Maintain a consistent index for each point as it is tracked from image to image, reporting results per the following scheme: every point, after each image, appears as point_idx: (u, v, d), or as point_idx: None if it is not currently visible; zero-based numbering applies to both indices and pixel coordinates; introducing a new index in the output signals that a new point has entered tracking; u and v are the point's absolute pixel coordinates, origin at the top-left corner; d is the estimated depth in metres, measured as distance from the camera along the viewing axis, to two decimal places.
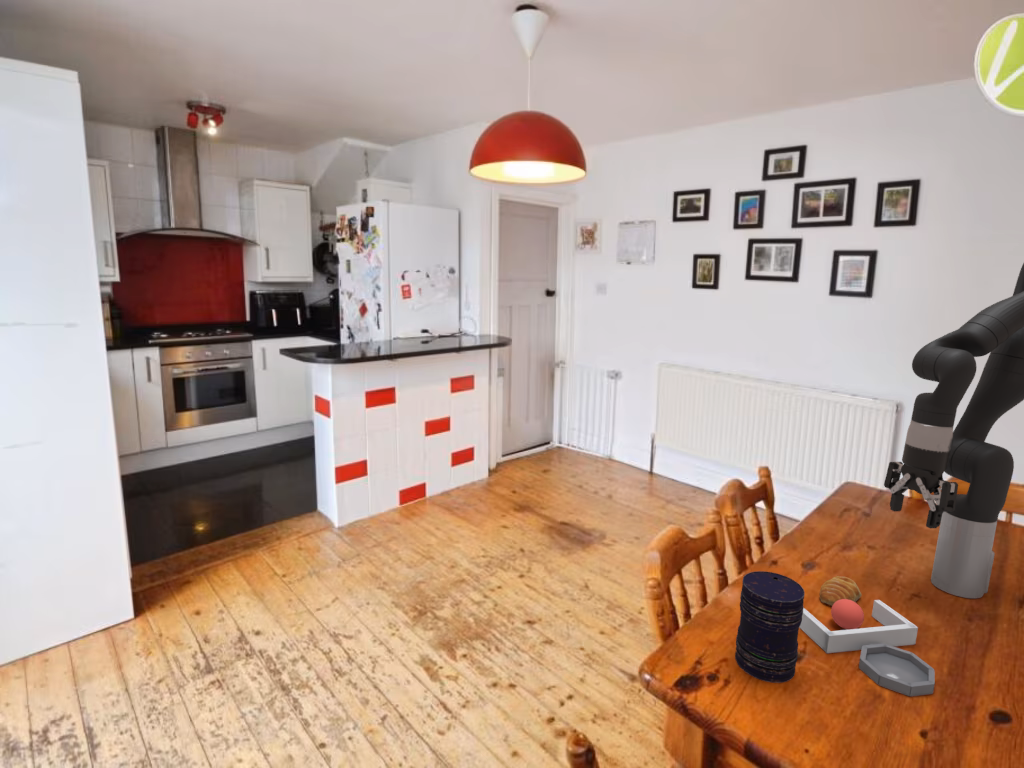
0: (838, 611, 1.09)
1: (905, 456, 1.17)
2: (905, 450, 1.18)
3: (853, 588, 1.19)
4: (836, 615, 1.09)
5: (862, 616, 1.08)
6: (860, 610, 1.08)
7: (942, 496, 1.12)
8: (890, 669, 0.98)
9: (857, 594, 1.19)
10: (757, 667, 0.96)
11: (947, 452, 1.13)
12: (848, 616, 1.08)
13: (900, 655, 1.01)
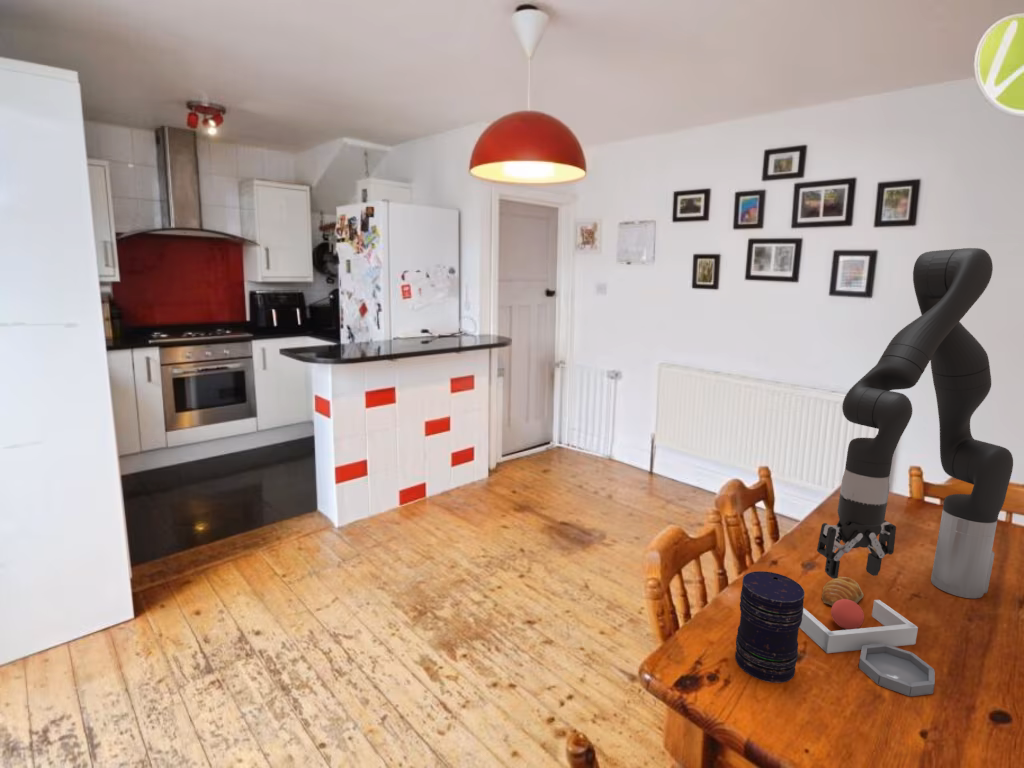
0: (838, 611, 1.09)
1: (870, 517, 1.03)
2: (868, 511, 1.02)
3: (855, 589, 1.19)
4: (836, 615, 1.09)
5: (862, 616, 1.08)
6: (860, 610, 1.08)
7: (891, 540, 1.07)
8: (890, 669, 0.98)
9: (859, 595, 1.19)
10: (757, 667, 0.96)
11: None
12: (848, 616, 1.08)
13: (900, 655, 1.01)
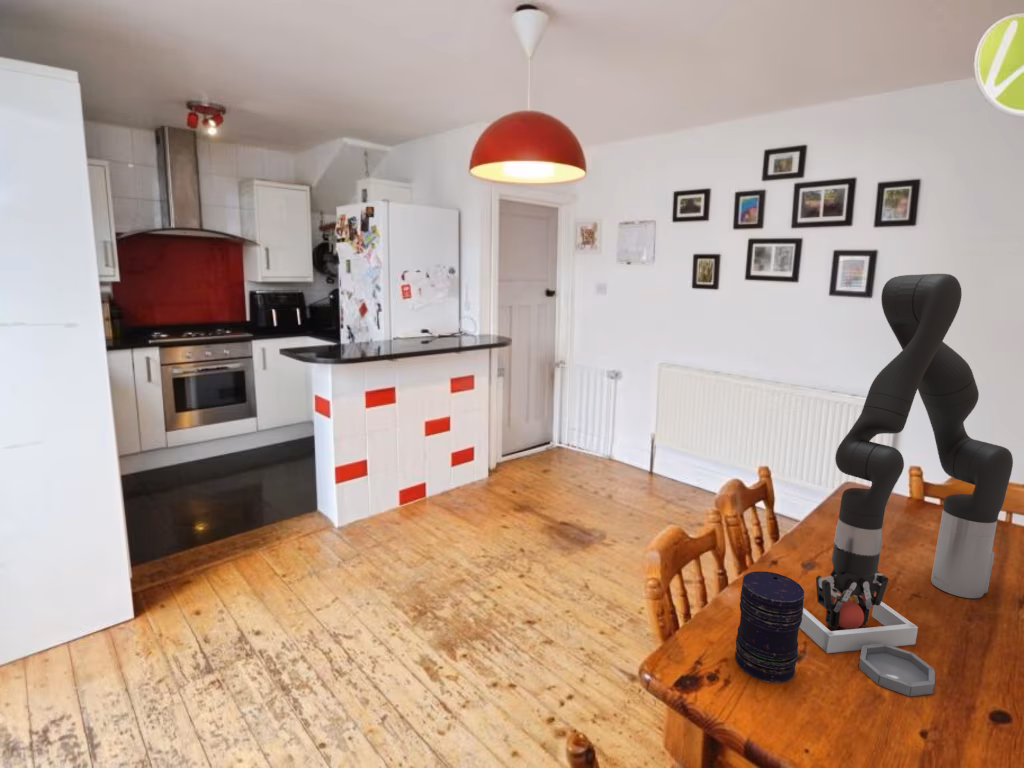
0: (839, 611, 1.09)
1: (863, 568, 1.04)
2: (861, 562, 1.04)
3: None
4: None
5: (862, 616, 1.08)
6: (860, 610, 1.08)
7: (881, 591, 1.09)
8: (890, 669, 0.98)
9: None
10: (757, 667, 0.96)
11: None
12: (848, 616, 1.08)
13: (900, 655, 1.01)
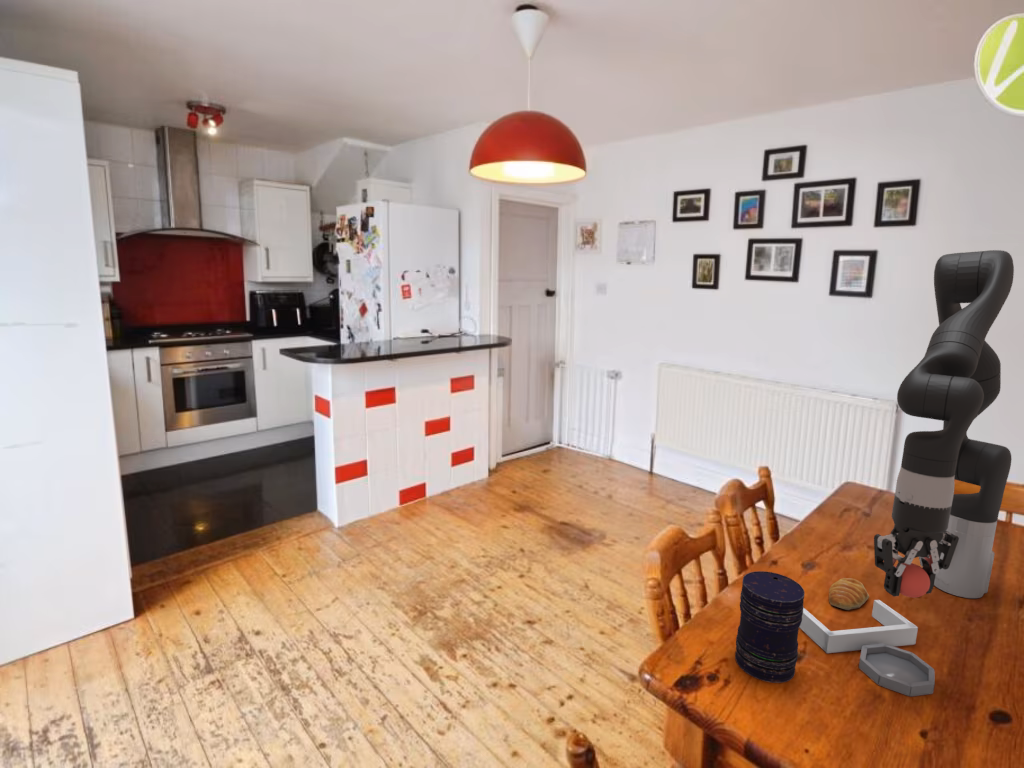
0: None
1: (932, 523, 0.89)
2: (930, 516, 0.89)
3: (861, 590, 1.19)
4: None
5: (928, 581, 0.93)
6: (926, 574, 0.93)
7: (950, 552, 0.93)
8: (890, 669, 0.98)
9: (866, 596, 1.18)
10: (757, 667, 0.96)
11: None
12: (912, 581, 0.92)
13: (900, 655, 1.01)
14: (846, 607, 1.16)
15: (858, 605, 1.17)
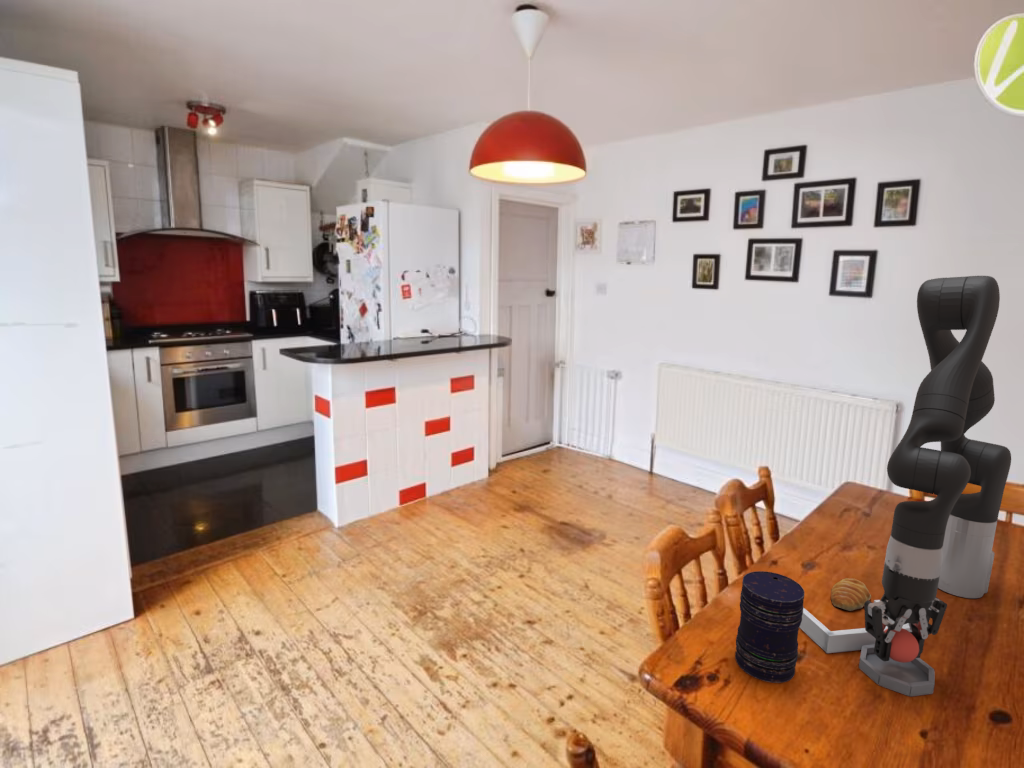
0: None
1: (921, 593, 0.91)
2: (919, 586, 0.91)
3: (864, 590, 1.18)
4: None
5: (917, 647, 0.95)
6: (915, 640, 0.95)
7: (938, 618, 0.96)
8: (890, 669, 0.98)
9: (868, 596, 1.18)
10: (757, 667, 0.96)
11: None
12: (901, 648, 0.94)
13: None
14: (849, 607, 1.15)
15: (861, 606, 1.16)
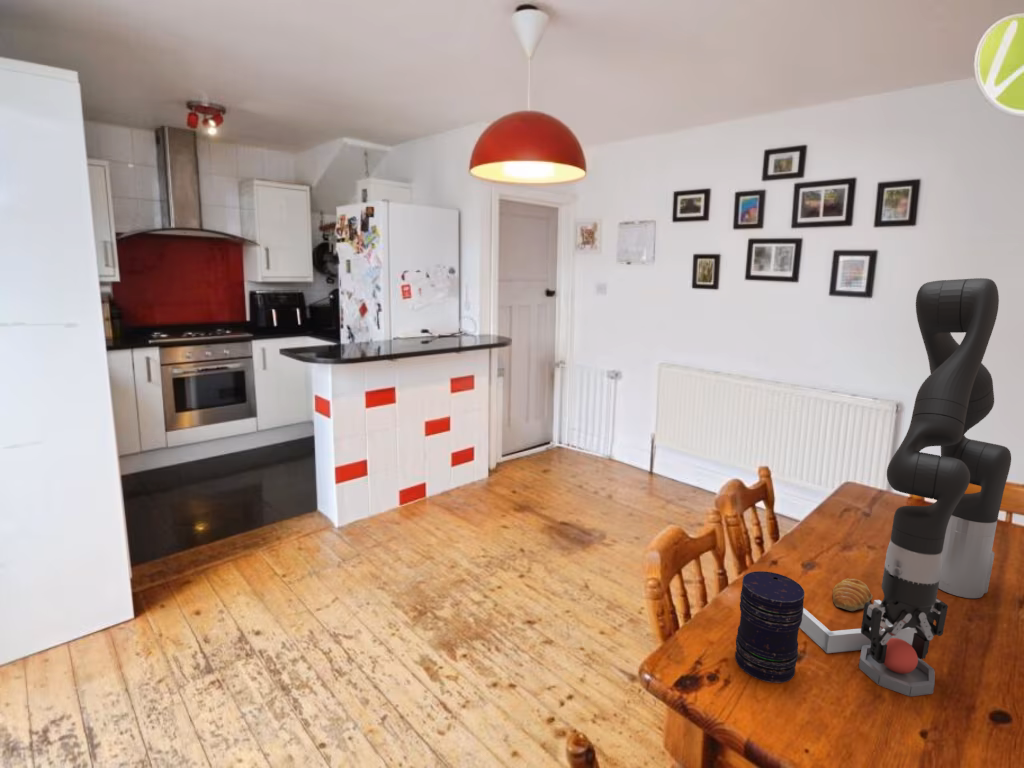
0: (889, 653, 0.96)
1: (921, 598, 0.91)
2: (918, 591, 0.91)
3: (865, 590, 1.18)
4: (885, 657, 0.97)
5: (916, 659, 0.95)
6: (914, 652, 0.95)
7: (941, 620, 0.96)
8: None
9: (869, 596, 1.18)
10: (757, 667, 0.96)
11: None
12: (900, 659, 0.95)
13: None
14: (851, 608, 1.15)
15: (862, 606, 1.16)
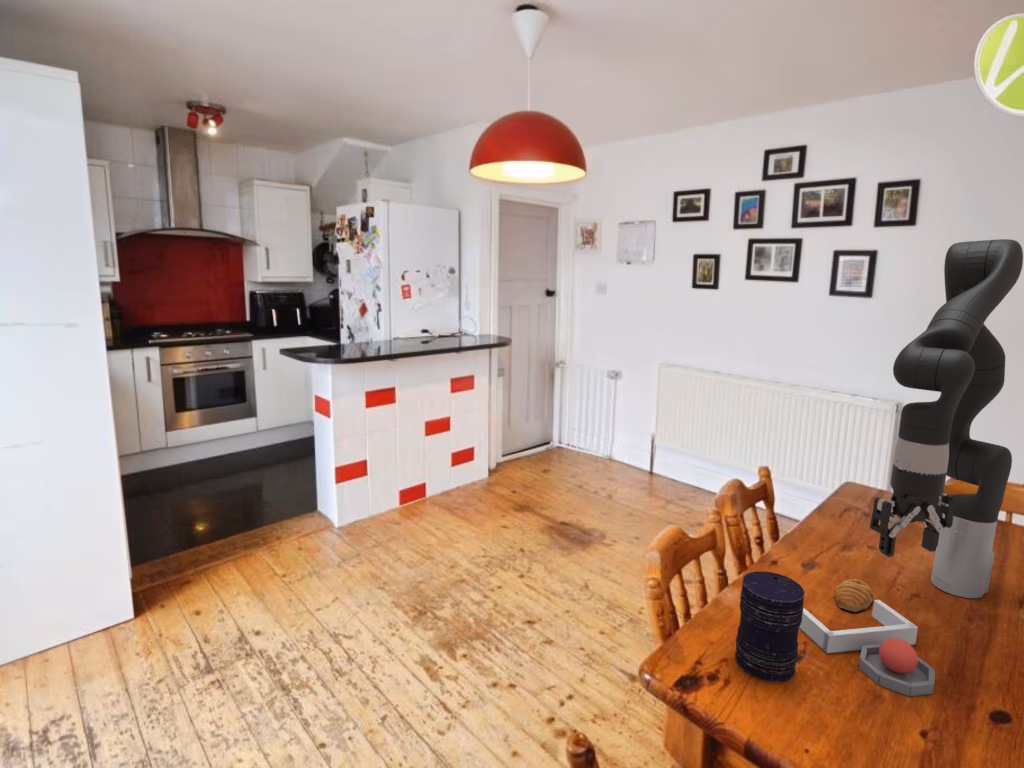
0: (889, 653, 0.96)
1: (929, 489, 0.94)
2: (927, 482, 0.94)
3: (867, 591, 1.18)
4: (885, 657, 0.97)
5: (916, 659, 0.95)
6: (913, 652, 0.95)
7: (950, 512, 0.98)
8: None
9: (872, 597, 1.18)
10: (757, 667, 0.96)
11: None
12: (900, 659, 0.95)
13: None
14: (854, 609, 1.15)
15: (865, 606, 1.16)
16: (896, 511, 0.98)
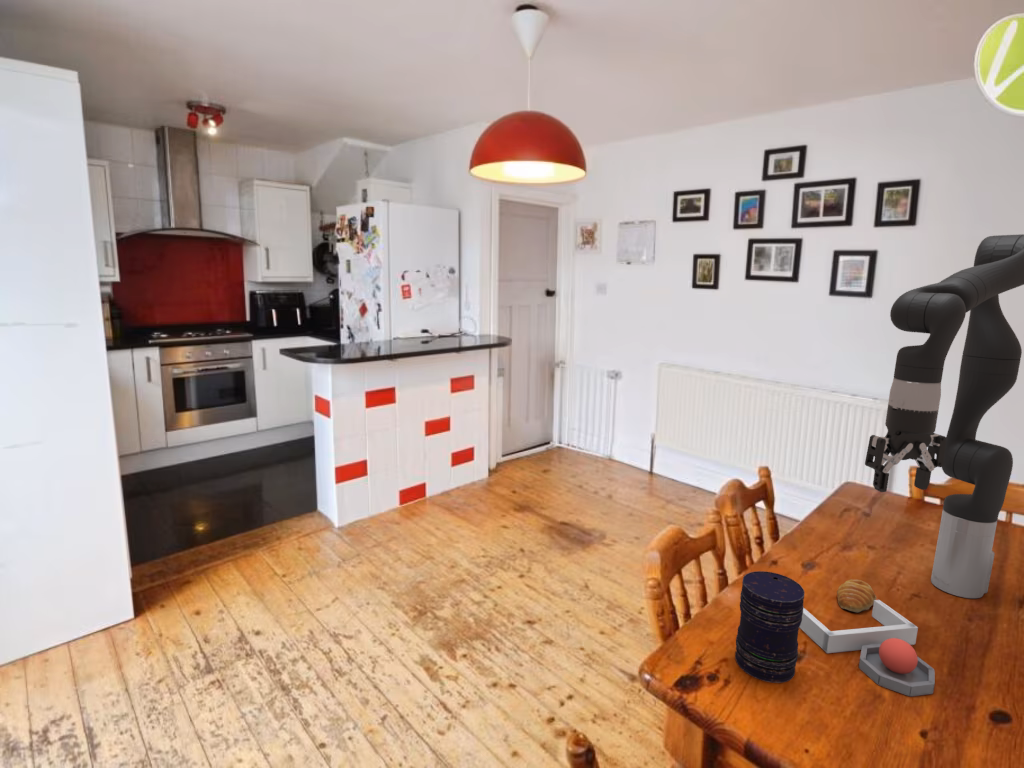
0: (888, 653, 0.96)
1: (921, 425, 1.00)
2: (919, 418, 1.00)
3: (870, 591, 1.18)
4: (885, 657, 0.96)
5: (916, 659, 0.95)
6: (913, 652, 0.95)
7: (941, 451, 1.04)
8: None
9: (874, 597, 1.18)
10: (757, 667, 0.96)
11: None
12: (900, 660, 0.95)
13: None
14: (856, 609, 1.15)
15: (868, 607, 1.16)
16: (890, 449, 1.04)
